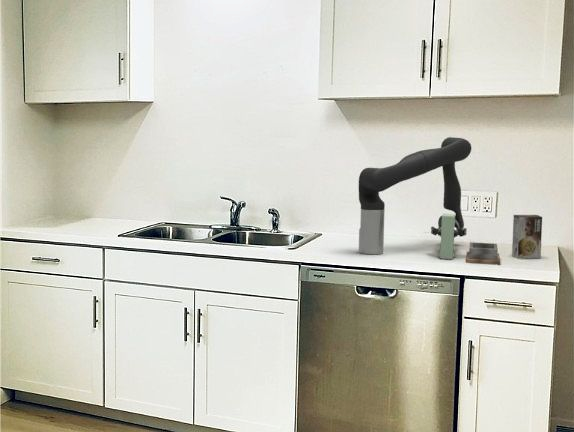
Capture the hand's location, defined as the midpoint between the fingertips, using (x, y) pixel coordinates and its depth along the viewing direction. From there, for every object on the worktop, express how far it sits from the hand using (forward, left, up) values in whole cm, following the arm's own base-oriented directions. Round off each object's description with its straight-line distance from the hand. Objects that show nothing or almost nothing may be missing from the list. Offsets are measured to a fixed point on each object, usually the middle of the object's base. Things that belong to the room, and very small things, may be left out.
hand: (447, 234), depth 254 cm
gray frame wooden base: (+13, +3, -9) cm, 16 cm away
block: (0, +3, -9) cm, 9 cm away
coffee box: (+29, +14, -9) cm, 34 cm away
